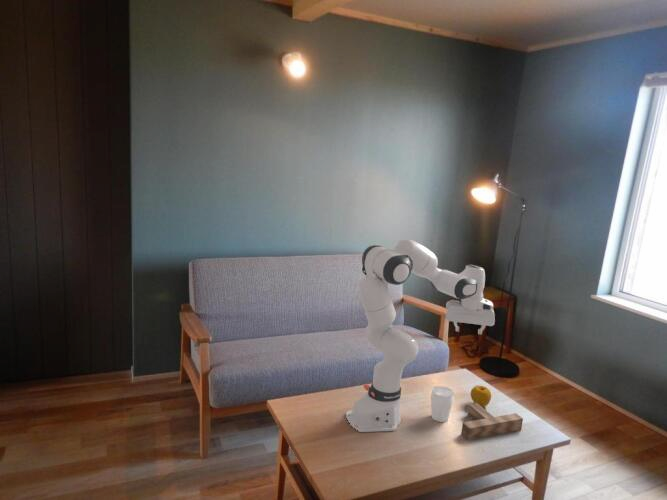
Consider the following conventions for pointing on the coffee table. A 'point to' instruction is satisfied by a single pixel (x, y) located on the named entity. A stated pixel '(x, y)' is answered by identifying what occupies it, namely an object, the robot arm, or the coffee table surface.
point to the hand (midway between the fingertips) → (468, 332)
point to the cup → (441, 403)
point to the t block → (488, 423)
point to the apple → (481, 395)
